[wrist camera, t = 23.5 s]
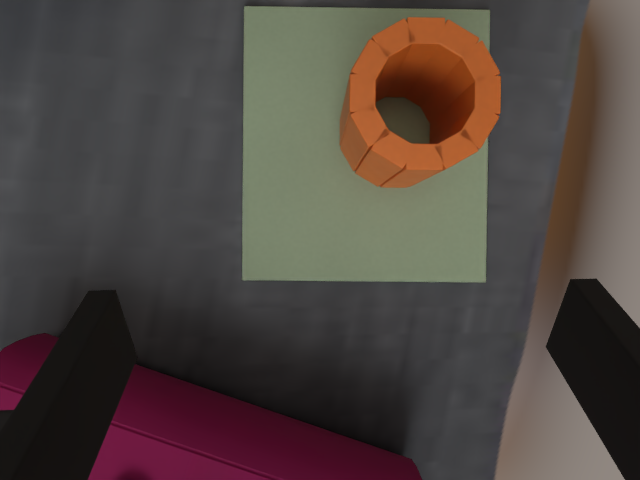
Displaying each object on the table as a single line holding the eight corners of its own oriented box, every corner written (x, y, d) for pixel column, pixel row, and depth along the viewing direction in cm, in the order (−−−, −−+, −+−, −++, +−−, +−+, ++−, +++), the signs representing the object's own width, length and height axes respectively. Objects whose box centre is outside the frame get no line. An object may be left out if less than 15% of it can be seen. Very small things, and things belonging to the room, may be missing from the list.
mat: (242, 279, 34) (241, 280, 34) (244, 8, 34) (243, 5, 33) (484, 281, 34) (486, 282, 34) (488, 12, 34) (490, 9, 33)
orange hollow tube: (339, 187, 34) (348, 169, 24) (340, 77, 33) (350, 15, 24) (447, 188, 34) (499, 170, 24) (449, 78, 33) (502, 17, 24)
